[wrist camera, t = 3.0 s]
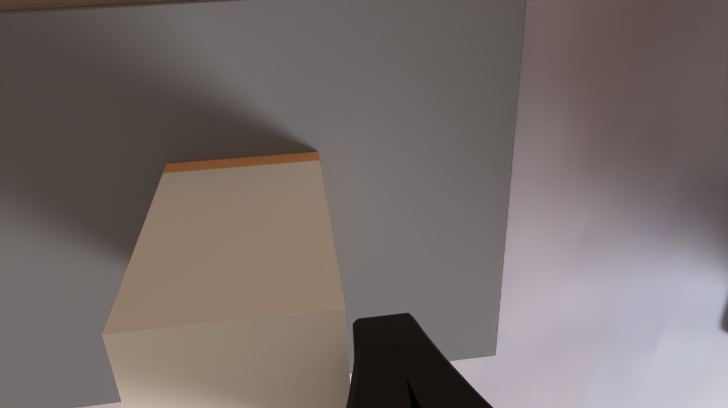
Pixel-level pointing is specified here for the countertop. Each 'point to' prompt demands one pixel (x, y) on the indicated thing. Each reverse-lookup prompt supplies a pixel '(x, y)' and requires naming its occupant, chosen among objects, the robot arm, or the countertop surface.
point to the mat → (250, 139)
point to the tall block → (233, 291)
